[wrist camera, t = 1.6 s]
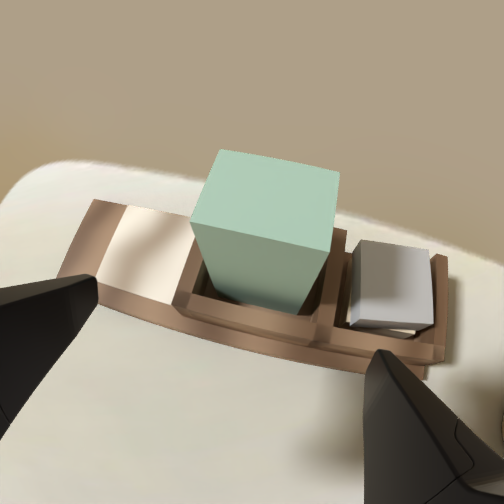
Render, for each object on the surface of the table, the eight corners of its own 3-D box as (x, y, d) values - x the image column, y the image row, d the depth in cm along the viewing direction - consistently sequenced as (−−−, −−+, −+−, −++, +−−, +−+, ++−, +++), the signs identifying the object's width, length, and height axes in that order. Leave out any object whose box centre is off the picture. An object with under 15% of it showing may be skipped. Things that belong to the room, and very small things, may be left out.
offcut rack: (425, 277, 22) (450, 257, 19) (416, 380, 19) (444, 376, 15) (98, 205, 26) (79, 179, 22) (59, 288, 22) (33, 270, 18)
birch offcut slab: (407, 275, 21) (419, 265, 19) (402, 339, 19) (415, 334, 17) (348, 262, 22) (355, 250, 20) (338, 327, 20) (346, 321, 18)
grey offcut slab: (415, 261, 20) (428, 249, 18) (418, 330, 17) (433, 323, 16) (352, 253, 20) (360, 239, 18) (349, 326, 18) (359, 318, 16)
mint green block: (307, 262, 22) (340, 172, 13) (296, 315, 20) (329, 252, 11) (233, 245, 22) (220, 149, 13) (217, 296, 21) (189, 221, 12)
